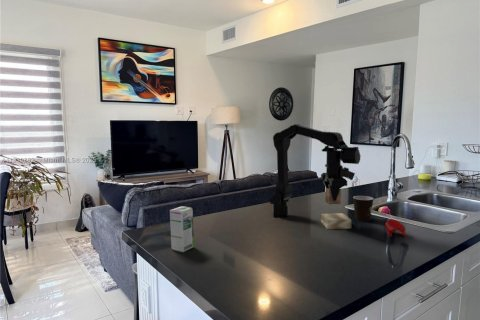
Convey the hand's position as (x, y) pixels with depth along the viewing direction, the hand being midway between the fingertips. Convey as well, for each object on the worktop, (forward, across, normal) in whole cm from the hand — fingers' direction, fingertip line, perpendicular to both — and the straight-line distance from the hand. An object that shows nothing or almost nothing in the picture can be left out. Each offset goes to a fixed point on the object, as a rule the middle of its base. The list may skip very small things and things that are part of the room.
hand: (332, 199), depth 138 cm
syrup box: (+12, -24, +60) cm, 66 cm away
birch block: (+12, +1, -2) cm, 12 cm away
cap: (+12, -12, -21) cm, 27 cm away
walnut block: (+2, 0, 0) cm, 2 cm away
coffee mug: (+12, +10, -18) cm, 23 cm away
